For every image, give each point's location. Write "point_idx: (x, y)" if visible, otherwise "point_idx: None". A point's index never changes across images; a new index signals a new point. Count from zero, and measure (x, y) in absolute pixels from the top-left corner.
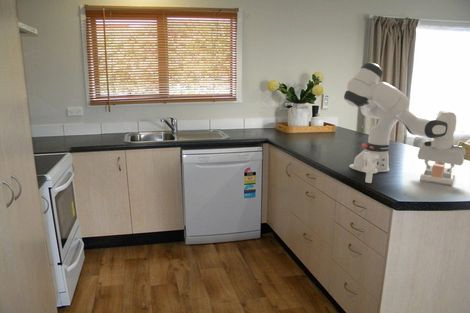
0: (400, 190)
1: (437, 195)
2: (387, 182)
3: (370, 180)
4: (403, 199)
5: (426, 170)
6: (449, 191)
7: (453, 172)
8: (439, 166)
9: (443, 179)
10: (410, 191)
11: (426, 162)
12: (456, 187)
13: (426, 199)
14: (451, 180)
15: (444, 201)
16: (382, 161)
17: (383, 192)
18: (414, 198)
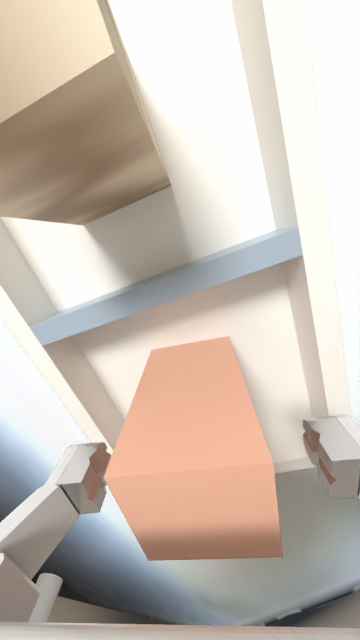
0: (174, 585)
1: (298, 565)
2: (84, 551)
3: (56, 597)
4: (227, 625)
5: (49, 339)
6: (331, 504)
7: (307, 92)
8: (232, 553)
9: (281, 466)
10: (203, 578)
11: (31, 576)
12: (356, 421)
13: (279, 603)
14: None
15: (336, 593)
16: None
17: (155, 614)
18: (246, 611)
